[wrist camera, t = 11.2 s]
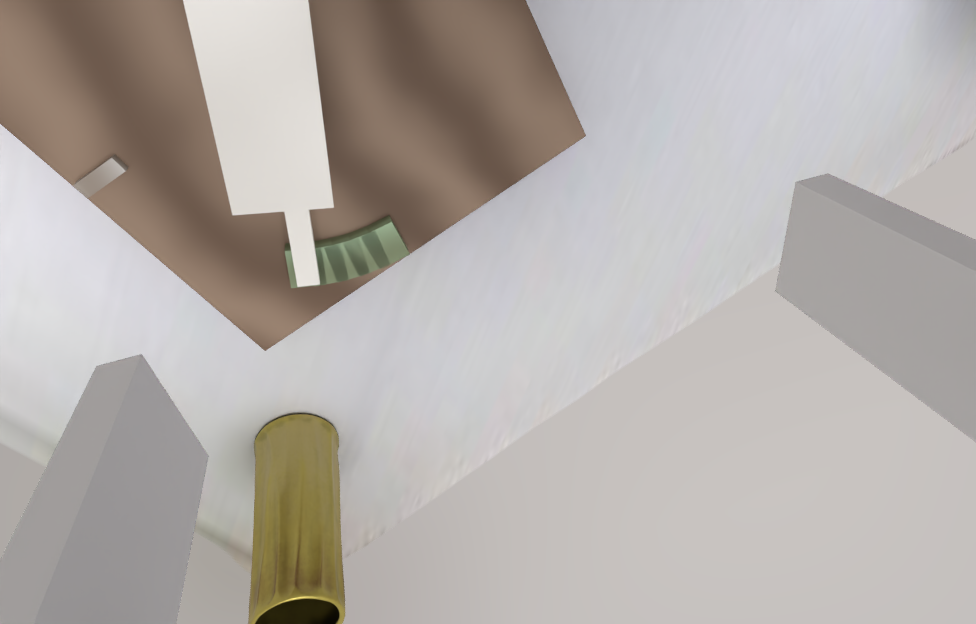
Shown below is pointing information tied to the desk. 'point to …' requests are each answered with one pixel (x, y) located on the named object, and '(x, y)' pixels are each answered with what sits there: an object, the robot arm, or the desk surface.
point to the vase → (297, 524)
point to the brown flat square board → (347, 124)
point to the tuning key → (266, 112)
